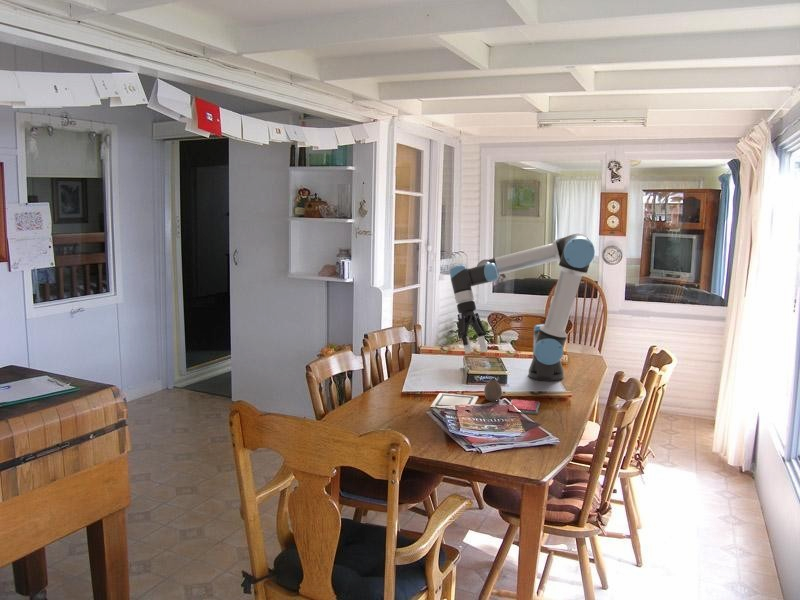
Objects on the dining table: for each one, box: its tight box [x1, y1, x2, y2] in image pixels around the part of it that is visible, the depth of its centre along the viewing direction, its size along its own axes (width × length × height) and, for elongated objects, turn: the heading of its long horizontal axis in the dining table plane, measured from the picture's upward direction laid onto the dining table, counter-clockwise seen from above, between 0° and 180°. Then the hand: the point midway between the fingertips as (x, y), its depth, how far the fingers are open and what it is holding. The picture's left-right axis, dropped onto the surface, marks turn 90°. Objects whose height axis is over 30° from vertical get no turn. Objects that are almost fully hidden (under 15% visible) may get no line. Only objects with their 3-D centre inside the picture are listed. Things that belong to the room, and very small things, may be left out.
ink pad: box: [510, 398, 541, 415], centre depth 264 cm, size 11×11×1 cm
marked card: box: [429, 392, 479, 408], centre depth 270 cm, size 16×16×1 cm
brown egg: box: [483, 377, 503, 403], centre depth 272 cm, size 7×7×9 cm
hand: (476, 352), depth 282 cm, fingers open, 13 cm apart
